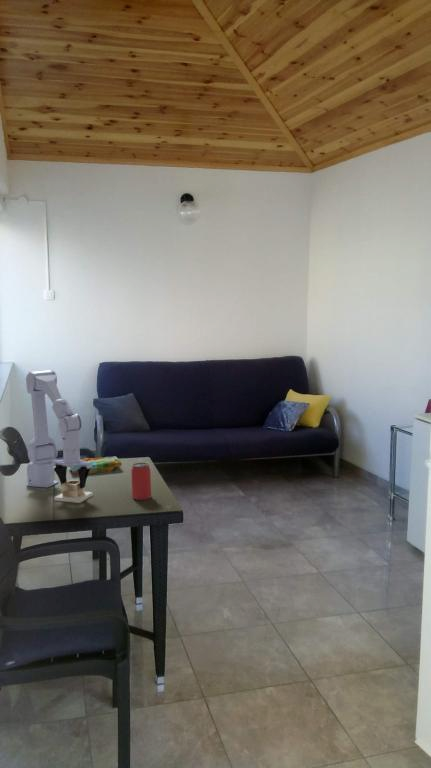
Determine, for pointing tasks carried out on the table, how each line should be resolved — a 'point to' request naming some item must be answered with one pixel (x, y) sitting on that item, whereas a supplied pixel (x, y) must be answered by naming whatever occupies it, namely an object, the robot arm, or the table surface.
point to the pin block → (73, 499)
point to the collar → (72, 489)
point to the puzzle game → (100, 464)
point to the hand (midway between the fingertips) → (73, 486)
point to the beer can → (141, 481)
